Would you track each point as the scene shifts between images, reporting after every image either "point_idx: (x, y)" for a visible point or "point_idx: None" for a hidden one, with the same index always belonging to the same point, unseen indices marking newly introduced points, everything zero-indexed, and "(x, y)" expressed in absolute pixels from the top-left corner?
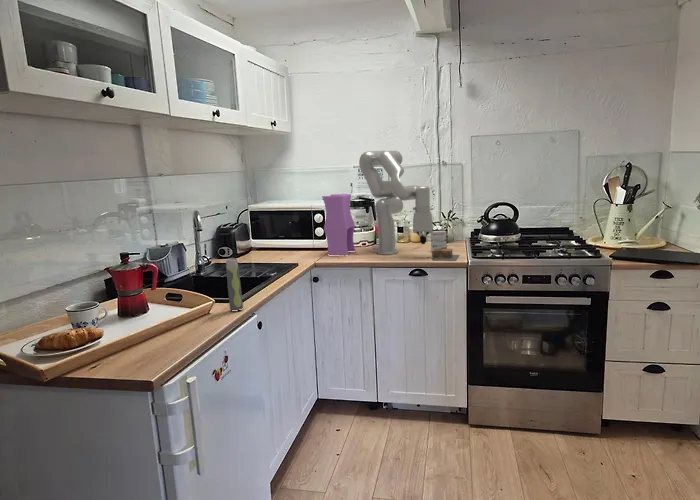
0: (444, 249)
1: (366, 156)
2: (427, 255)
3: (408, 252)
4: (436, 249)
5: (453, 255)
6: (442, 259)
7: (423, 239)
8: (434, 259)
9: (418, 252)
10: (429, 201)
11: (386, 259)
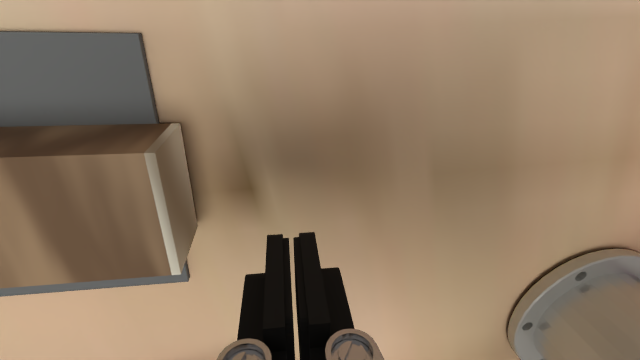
0: (12, 244)
1: None
2: None
3: (436, 336)
4: (123, 235)
5: None
6: (13, 50)
7: (276, 284)
8: (117, 47)
9: None
10: None
11: (622, 68)
